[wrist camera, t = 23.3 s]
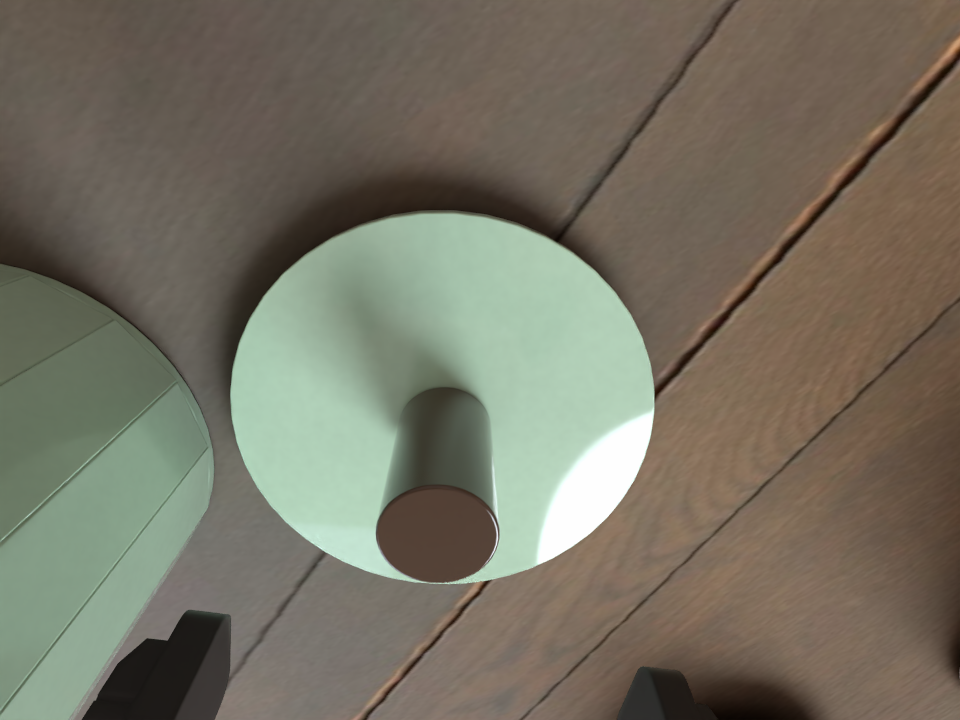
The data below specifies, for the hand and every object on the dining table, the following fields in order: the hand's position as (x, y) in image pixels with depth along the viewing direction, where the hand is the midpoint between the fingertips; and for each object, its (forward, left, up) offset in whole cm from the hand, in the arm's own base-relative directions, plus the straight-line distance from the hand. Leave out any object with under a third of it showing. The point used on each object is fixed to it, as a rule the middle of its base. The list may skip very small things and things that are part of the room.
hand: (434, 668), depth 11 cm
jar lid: (0, 0, -10) cm, 10 cm away
